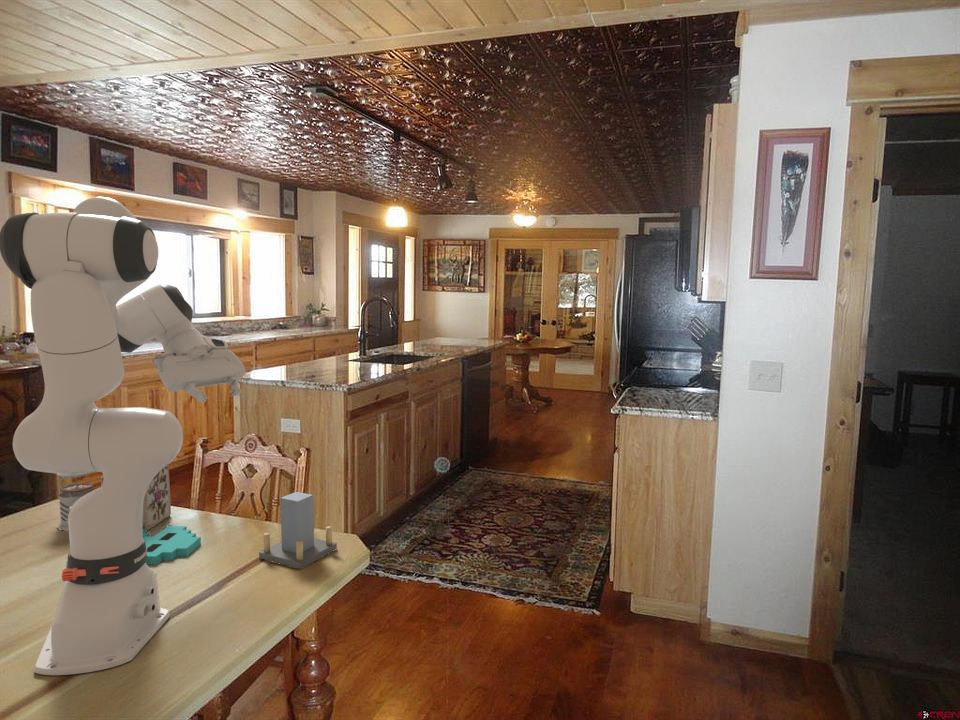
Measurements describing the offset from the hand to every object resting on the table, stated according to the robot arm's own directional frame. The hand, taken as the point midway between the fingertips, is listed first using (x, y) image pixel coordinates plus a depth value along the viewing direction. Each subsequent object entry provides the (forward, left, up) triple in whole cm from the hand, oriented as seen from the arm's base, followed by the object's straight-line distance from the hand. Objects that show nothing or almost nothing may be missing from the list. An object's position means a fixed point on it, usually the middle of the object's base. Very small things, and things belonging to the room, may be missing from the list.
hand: (221, 397), depth 142 cm
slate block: (-8, -16, -34) cm, 38 cm away
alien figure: (+3, +17, -36) cm, 40 cm away
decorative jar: (+21, +24, -36) cm, 48 cm away
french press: (+24, +39, -36) cm, 58 cm away
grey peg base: (-8, -17, -35) cm, 40 cm away
